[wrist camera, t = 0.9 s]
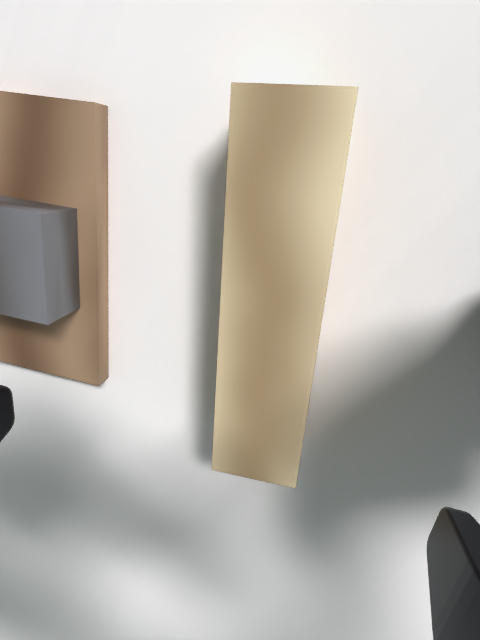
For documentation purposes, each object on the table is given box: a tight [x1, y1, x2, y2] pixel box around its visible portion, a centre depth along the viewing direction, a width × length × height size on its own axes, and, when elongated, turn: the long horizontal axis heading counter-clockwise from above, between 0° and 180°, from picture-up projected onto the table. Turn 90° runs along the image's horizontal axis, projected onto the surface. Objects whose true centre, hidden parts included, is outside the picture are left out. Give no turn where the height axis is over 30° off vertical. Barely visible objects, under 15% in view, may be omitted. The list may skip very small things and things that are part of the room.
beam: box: [212, 82, 358, 488], centre depth 17 cm, size 4×16×4 cm, turn 176°
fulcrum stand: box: [0, 91, 108, 386], centre depth 19 cm, size 8×14×4 cm, turn 173°
